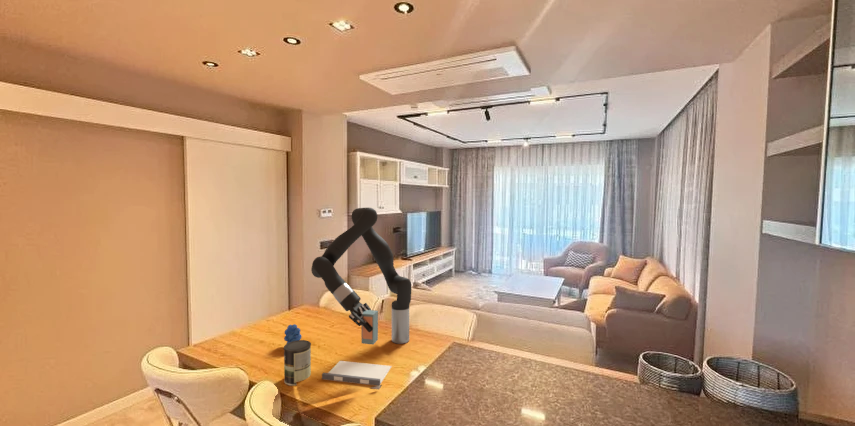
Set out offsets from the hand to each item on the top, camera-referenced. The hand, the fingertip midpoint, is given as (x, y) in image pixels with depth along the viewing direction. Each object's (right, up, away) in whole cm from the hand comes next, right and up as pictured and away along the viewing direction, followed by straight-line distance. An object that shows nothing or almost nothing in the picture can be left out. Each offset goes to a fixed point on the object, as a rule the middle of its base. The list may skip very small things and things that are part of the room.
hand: (374, 328), depth 138 cm
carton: (-2, -6, +1) cm, 6 cm away
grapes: (-44, -20, +31) cm, 58 cm away
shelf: (-7, -21, +4) cm, 23 cm away
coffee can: (-31, -21, +1) cm, 38 cm away
